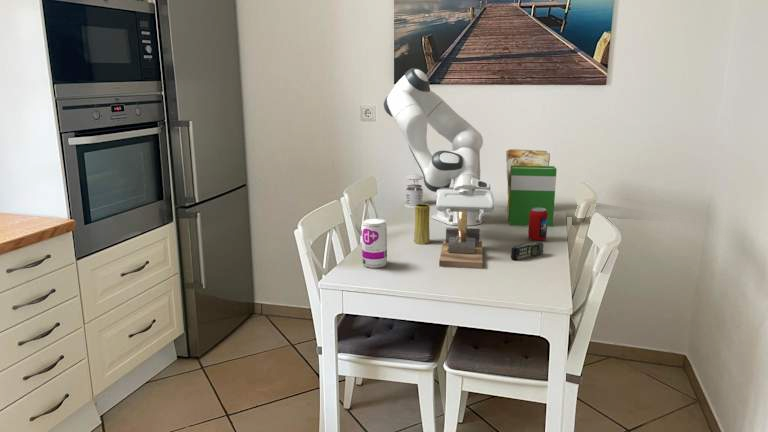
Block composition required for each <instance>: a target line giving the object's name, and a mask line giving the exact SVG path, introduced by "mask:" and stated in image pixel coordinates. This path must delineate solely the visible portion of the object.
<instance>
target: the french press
mask: <svg viewBox="0 0 768 432" xmlns="http://www.w3.org/2000/svg"><path fill="white" fill-rule="evenodd" d="M413 158H414V157H413ZM413 160H414V161H413V163H414V164H413V165H414V166H413V167H414V170H413V171H414V172H413V173H412V174H409V175H407V176H406V177H405V178H406V180H411V181H413V184H412V183H411V184H407V185H406V187H407V188H406V189H405V204H404V206H403V207H404V208H408V209H415V205H416V204H424V203H423V202H424V201H423V196H424V195H423V193H424V192H423V190H424V189H423V188H422V187H423V185H422V184H419V182H418V181H420V180H424V177H423V175H420V174H417V173H416V172H415V171H416V163H415V162H416V160H415V158H414V159H413ZM415 183H417V184H415Z"/></svg>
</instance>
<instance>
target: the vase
mask: <svg viewBox="0 0 768 432" xmlns="http://www.w3.org/2000/svg"><path fill="white" fill-rule="evenodd" d="M414 210H415V211H414V235H413V236H414V237H413V238H414V239H413V243H414V242H415V243H414V244H418V245H427V244H429V243H431V239H430V237H431V236H430V234H431V233H430V205H429V204H428V203H422V204H416V205H415V208H414Z"/></svg>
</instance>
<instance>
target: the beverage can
mask: <svg viewBox="0 0 768 432" xmlns="http://www.w3.org/2000/svg"><path fill="white" fill-rule="evenodd" d="M547 221H548V213H547V211H546V209H545V208H532V210H531V211H530V214H529V226H528V235H527V237H528V239H529V240H530V241H531V242H537V241H539V242H544V241H545V240H546V239H547V233H548V226H547Z"/></svg>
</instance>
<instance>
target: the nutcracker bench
mask: <svg viewBox="0 0 768 432" xmlns="http://www.w3.org/2000/svg"><path fill="white" fill-rule="evenodd" d="M480 230H481V229H480V228H471V227H470V228H469V227H467V238H475V253H453V252H448V244H449V237H458V227H446V228H445V239H443V242H442V246H441V251H440V254H439V255H440V256H439V261H438V262H439V263H438V266H439V267H443V268H445V267H446V268H466V269H467V268H468V269H483V241H480V236H481V235H480V234H481V231H480Z"/></svg>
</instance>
